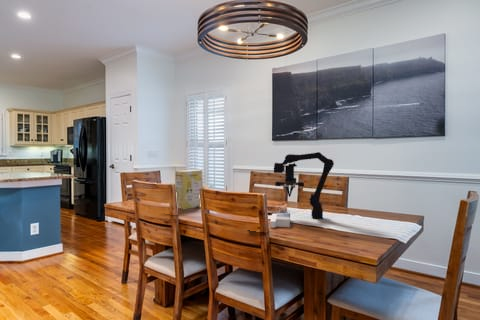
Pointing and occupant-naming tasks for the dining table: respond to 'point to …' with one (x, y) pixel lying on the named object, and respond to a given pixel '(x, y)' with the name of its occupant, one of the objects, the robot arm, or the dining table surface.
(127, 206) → the dining table surface
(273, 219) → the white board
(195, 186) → the pasta box
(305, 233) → the dining table surface
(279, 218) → the grey block
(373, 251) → the dining table surface
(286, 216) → the slate block
